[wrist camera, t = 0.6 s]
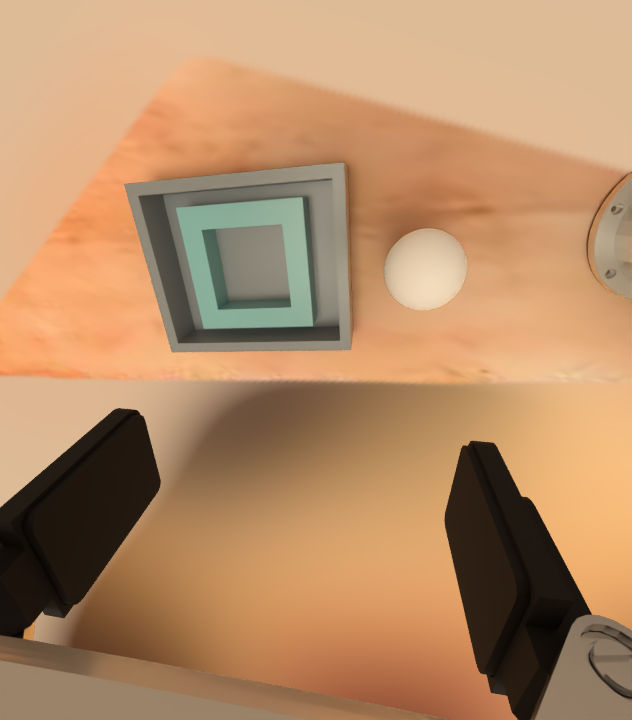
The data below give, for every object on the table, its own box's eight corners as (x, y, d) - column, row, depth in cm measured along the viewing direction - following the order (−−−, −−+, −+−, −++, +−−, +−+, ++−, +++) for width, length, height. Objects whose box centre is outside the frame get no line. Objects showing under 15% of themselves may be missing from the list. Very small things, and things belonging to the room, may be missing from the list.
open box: (193, 334, 41) (171, 352, 37) (156, 184, 34) (124, 184, 30) (353, 331, 38) (350, 349, 34) (347, 166, 31) (344, 162, 27)
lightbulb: (370, 239, 34) (371, 259, 24) (432, 207, 32) (460, 215, 22) (395, 294, 36) (405, 334, 26) (454, 267, 34) (488, 299, 24)
